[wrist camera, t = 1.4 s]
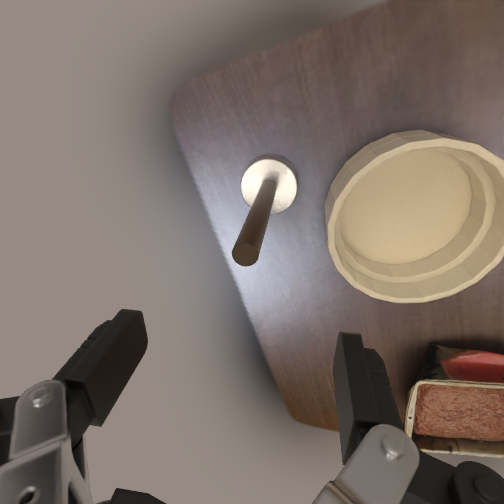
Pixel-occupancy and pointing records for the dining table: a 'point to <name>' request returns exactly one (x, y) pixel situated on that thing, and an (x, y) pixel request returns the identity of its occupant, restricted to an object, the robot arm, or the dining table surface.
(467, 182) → the bowl
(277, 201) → the rod with silver disc
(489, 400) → the baking dish
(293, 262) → the dining table surface
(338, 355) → the robot arm
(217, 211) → the dining table surface
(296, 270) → the dining table surface
